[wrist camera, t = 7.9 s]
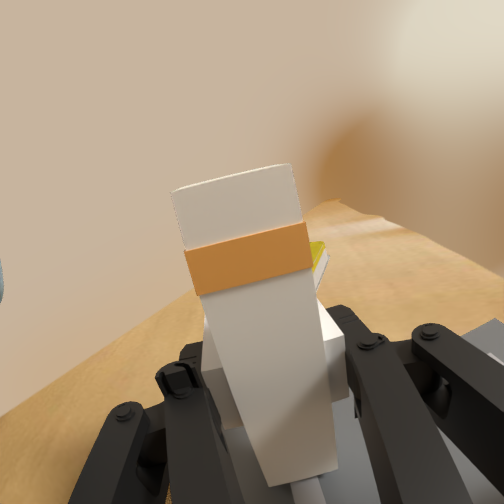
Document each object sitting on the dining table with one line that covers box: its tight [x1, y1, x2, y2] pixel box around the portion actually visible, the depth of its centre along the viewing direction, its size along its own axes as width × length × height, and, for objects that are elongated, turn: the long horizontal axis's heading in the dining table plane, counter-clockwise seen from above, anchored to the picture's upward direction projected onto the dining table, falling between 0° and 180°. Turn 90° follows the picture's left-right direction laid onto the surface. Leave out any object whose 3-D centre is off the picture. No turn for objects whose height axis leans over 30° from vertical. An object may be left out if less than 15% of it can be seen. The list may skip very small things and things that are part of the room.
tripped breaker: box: [171, 163, 338, 487], centre depth 10 cm, size 3×3×12 cm
